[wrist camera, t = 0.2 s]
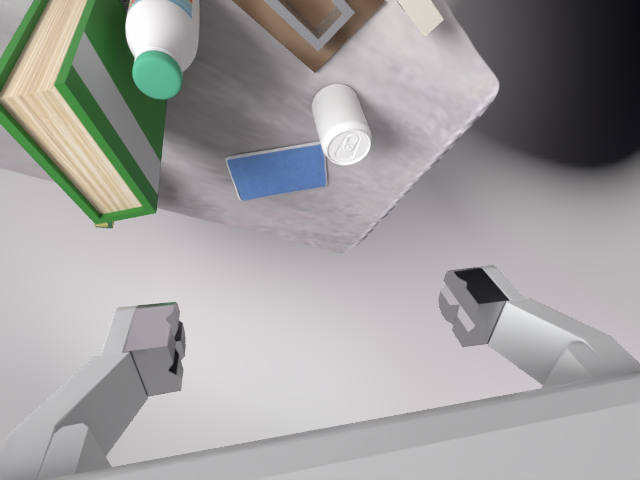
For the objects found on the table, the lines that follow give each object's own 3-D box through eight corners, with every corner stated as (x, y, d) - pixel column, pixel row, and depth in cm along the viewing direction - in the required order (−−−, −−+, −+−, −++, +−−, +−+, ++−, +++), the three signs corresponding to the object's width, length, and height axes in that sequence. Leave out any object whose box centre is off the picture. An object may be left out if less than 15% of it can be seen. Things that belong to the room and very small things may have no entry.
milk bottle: (212, -3, 50) (214, 82, 39) (175, 36, 53) (167, 126, 42) (160, -58, 45) (145, 23, 33) (122, -11, 48) (96, 78, 36)
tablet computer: (239, 198, 82) (239, 203, 82) (223, 154, 72) (223, 159, 71) (327, 182, 83) (328, 187, 83) (323, 137, 73) (324, 141, 72)
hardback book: (44, -19, 46) (-24, 98, 32) (106, -30, 46) (64, 83, 32) (120, 106, 60) (96, 224, 47) (167, 98, 61) (156, 213, 47)
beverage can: (305, 118, 68) (316, 164, 61) (319, 77, 62) (333, 123, 55) (346, 125, 71) (361, 170, 64) (363, 86, 65) (382, 131, 58)
